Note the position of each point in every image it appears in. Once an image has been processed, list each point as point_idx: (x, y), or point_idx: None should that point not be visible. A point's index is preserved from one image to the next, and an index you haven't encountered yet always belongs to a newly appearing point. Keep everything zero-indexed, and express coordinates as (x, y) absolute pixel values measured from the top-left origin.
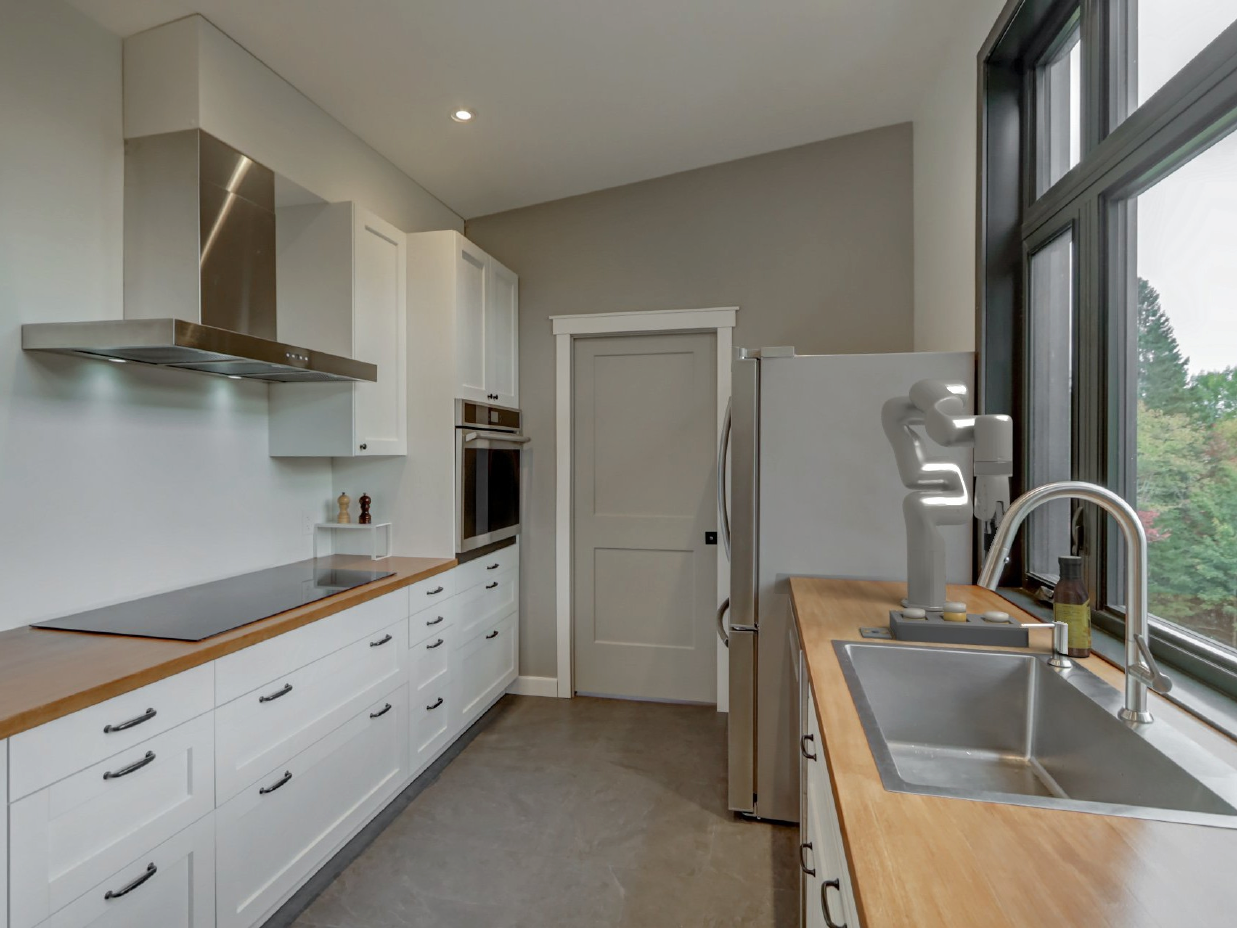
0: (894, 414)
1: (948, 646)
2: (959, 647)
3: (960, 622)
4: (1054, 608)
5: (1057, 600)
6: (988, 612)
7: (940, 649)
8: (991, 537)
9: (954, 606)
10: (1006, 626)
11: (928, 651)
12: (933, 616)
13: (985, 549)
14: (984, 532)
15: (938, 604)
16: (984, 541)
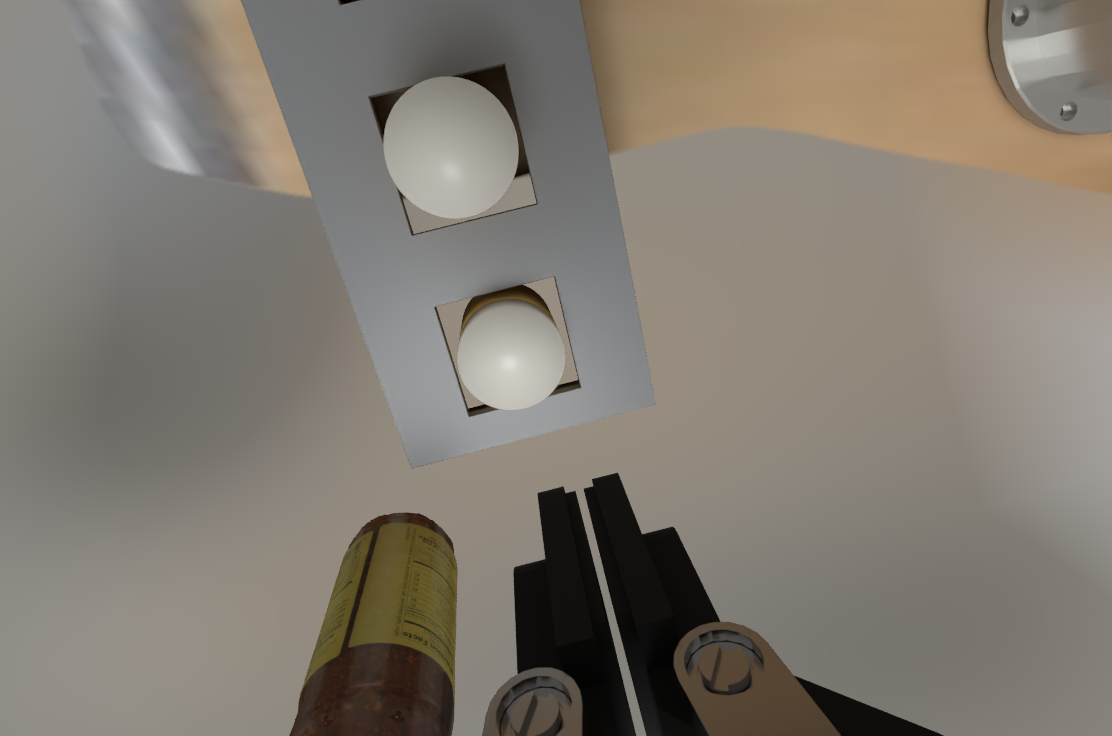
0: None
1: (252, 127)
2: (264, 177)
3: (373, 183)
4: (357, 625)
5: (327, 672)
6: (517, 324)
7: (168, 90)
8: (518, 669)
9: (386, 150)
10: (398, 388)
11: (88, 31)
12: (461, 29)
13: (561, 491)
14: (720, 623)
15: (1049, 59)
16: (618, 536)
